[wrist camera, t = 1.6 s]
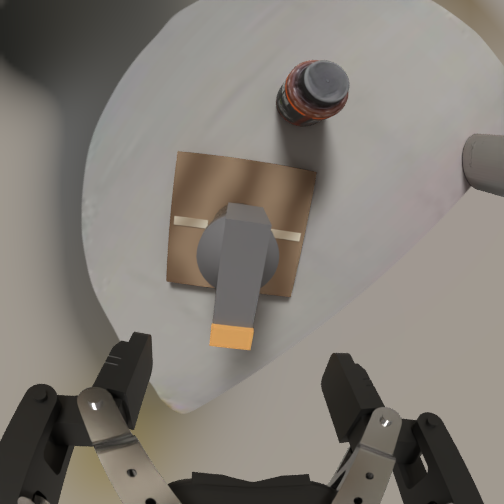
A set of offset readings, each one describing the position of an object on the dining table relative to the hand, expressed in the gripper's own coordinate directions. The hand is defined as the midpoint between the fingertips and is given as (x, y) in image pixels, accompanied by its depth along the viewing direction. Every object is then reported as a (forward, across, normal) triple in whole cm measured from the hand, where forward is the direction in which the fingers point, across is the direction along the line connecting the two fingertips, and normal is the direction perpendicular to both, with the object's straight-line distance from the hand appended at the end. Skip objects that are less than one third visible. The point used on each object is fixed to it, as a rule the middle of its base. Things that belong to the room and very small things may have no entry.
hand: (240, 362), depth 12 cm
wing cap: (+15, 0, 0) cm, 15 cm away
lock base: (+25, 0, 0) cm, 25 cm away
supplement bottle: (+25, -5, -16) cm, 30 cm away
